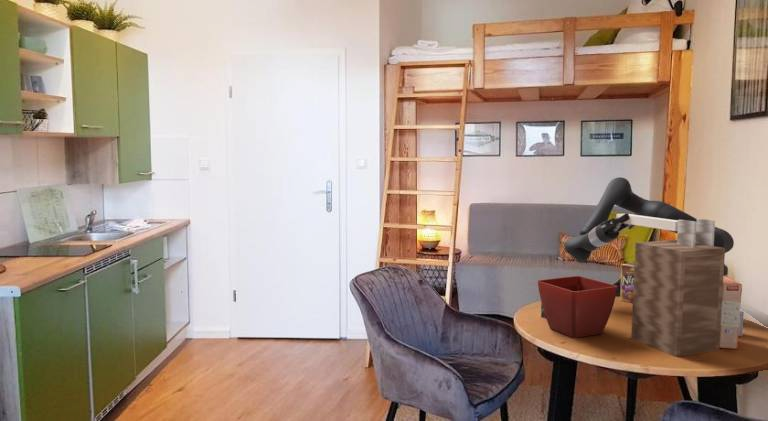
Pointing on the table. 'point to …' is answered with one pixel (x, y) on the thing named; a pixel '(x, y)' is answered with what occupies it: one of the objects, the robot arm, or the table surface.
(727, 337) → the cracker box
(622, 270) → the candy box
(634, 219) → the cream box
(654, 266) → the walnut shelf
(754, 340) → the table surface
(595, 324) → the plant pot
